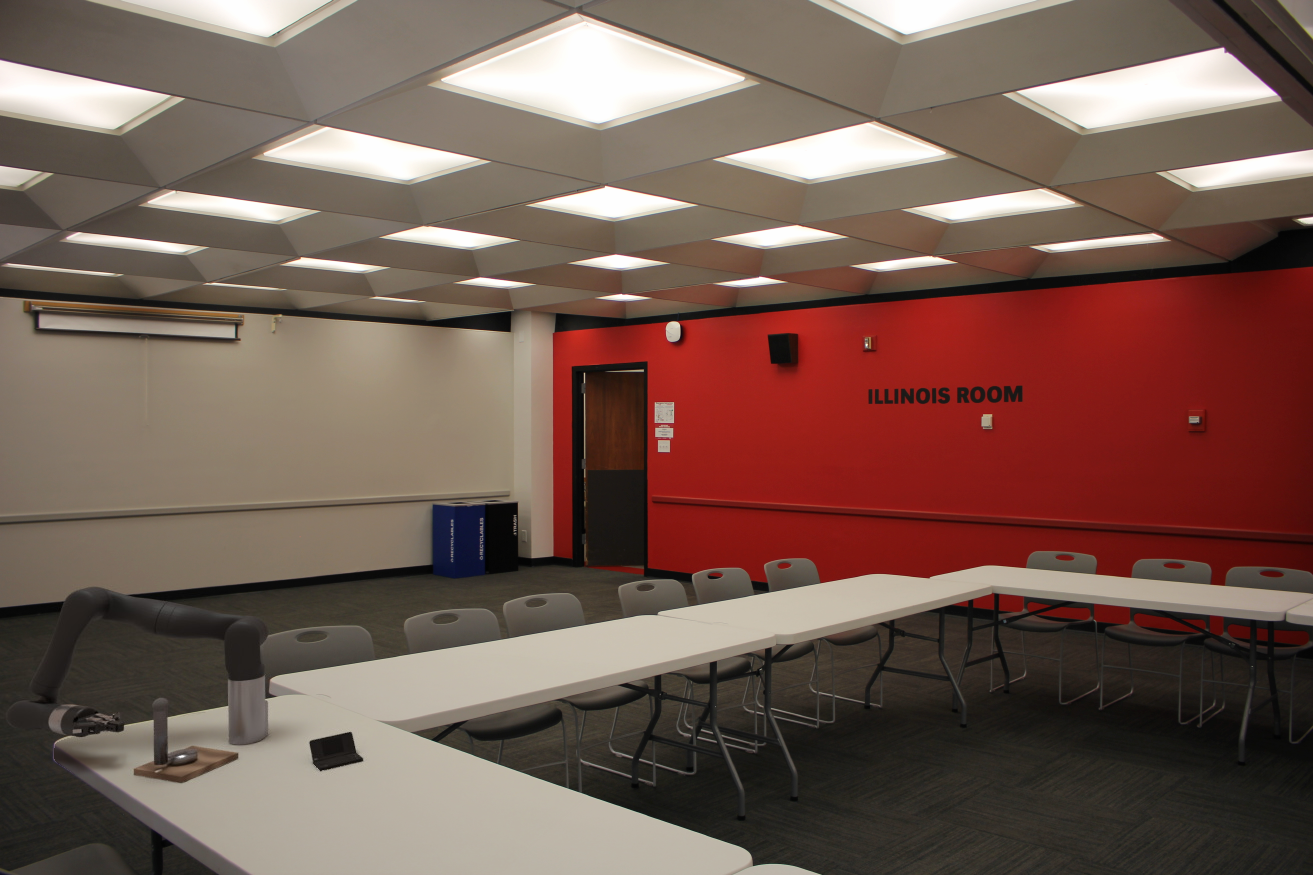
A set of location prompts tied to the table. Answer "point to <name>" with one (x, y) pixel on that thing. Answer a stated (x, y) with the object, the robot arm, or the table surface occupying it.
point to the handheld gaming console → (334, 751)
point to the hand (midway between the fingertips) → (121, 727)
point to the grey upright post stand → (162, 738)
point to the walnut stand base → (188, 765)
